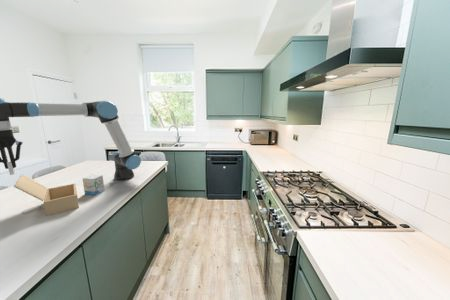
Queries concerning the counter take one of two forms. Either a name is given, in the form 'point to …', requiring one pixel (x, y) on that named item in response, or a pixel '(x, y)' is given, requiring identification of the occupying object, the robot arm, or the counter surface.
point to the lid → (31, 187)
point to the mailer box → (60, 199)
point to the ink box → (93, 184)
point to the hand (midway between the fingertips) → (12, 173)
